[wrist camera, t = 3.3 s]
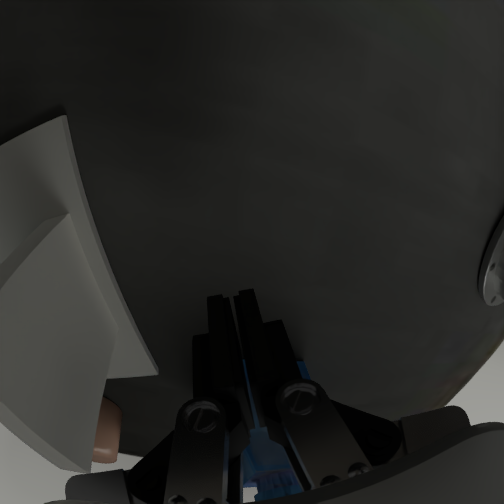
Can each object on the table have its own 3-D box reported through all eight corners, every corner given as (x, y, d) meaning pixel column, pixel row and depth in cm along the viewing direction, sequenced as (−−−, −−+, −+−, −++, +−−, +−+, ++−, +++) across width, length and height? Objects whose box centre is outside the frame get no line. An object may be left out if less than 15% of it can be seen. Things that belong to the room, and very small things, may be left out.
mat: (66, 115, 11) (61, 115, 11) (158, 368, 20) (158, 374, 19) (-68, 192, 10) (-72, 195, 10) (27, 374, 19) (25, 378, 18)
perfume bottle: (213, 402, 23) (228, 529, 13) (226, 358, 20) (251, 517, 10) (279, 403, 25) (311, 518, 14) (303, 361, 22) (353, 497, 11)
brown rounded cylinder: (106, 390, 21) (96, 439, 16) (131, 423, 24) (127, 466, 19) (54, 387, 20) (41, 430, 16) (83, 420, 23) (75, 458, 19)
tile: (69, 212, 13) (-42, 351, 4) (118, 328, 17) (90, 474, 8) (42, 221, 13) (-66, 349, 4) (93, 331, 17) (57, 468, 8)
